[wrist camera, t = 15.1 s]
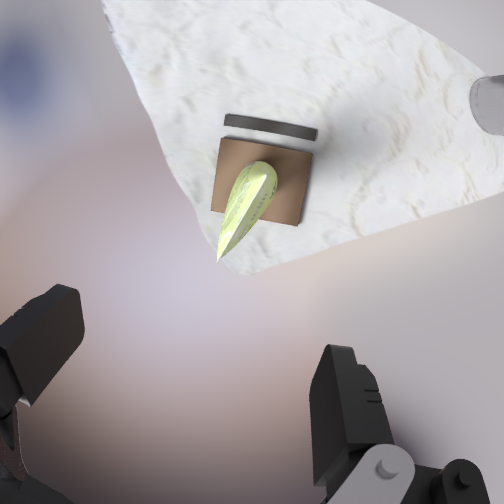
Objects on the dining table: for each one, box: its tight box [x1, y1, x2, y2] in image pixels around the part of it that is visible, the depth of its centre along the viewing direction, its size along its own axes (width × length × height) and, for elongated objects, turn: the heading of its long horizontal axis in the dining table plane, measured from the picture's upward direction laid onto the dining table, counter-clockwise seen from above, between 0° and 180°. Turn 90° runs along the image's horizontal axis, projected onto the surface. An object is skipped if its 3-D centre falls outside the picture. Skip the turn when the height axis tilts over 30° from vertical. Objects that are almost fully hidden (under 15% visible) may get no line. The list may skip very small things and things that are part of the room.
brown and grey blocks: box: [211, 115, 316, 227], centre depth 39 cm, size 12×13×1 cm
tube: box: [217, 161, 278, 262], centre depth 30 cm, size 6×5×20 cm
